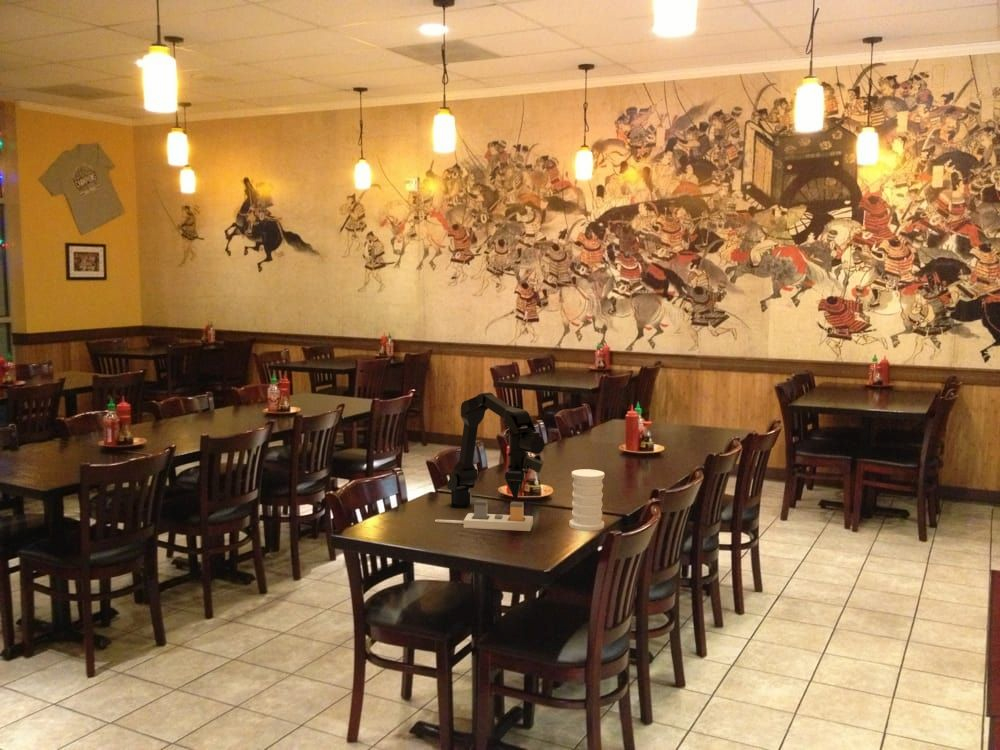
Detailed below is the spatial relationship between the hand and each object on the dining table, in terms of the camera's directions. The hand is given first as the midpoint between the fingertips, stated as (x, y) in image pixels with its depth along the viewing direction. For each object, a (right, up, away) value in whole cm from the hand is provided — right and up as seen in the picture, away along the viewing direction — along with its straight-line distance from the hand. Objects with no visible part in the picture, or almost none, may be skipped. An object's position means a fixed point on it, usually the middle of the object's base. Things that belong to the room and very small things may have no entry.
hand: (517, 495), depth 291 cm
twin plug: (-12, -10, +3) cm, 16 cm away
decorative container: (+23, -11, +3) cm, 26 cm away
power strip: (-11, -10, +3) cm, 16 cm away
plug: (0, -11, +1) cm, 11 cm away
